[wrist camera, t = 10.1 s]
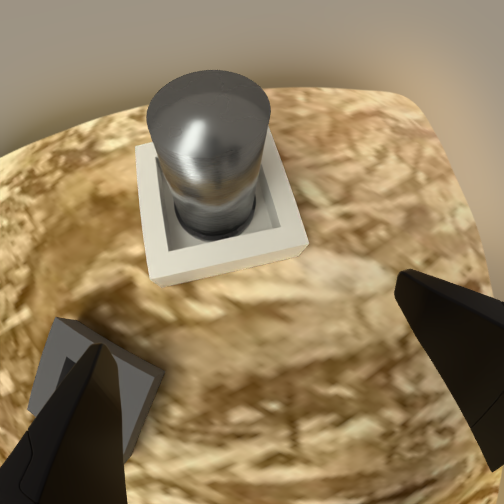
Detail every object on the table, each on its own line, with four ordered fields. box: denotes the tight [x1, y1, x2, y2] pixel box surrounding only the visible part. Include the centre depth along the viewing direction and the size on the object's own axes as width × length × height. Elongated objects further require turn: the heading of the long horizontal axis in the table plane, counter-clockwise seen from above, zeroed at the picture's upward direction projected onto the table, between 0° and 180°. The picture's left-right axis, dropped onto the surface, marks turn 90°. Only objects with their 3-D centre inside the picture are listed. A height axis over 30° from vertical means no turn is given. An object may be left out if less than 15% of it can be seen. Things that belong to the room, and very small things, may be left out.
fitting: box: [146, 70, 271, 242], centre depth 14 cm, size 5×5×9 cm
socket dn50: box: [135, 126, 309, 288], centre depth 18 cm, size 9×9×3 cm
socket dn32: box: [27, 317, 165, 463], centre depth 14 cm, size 7×7×3 cm
